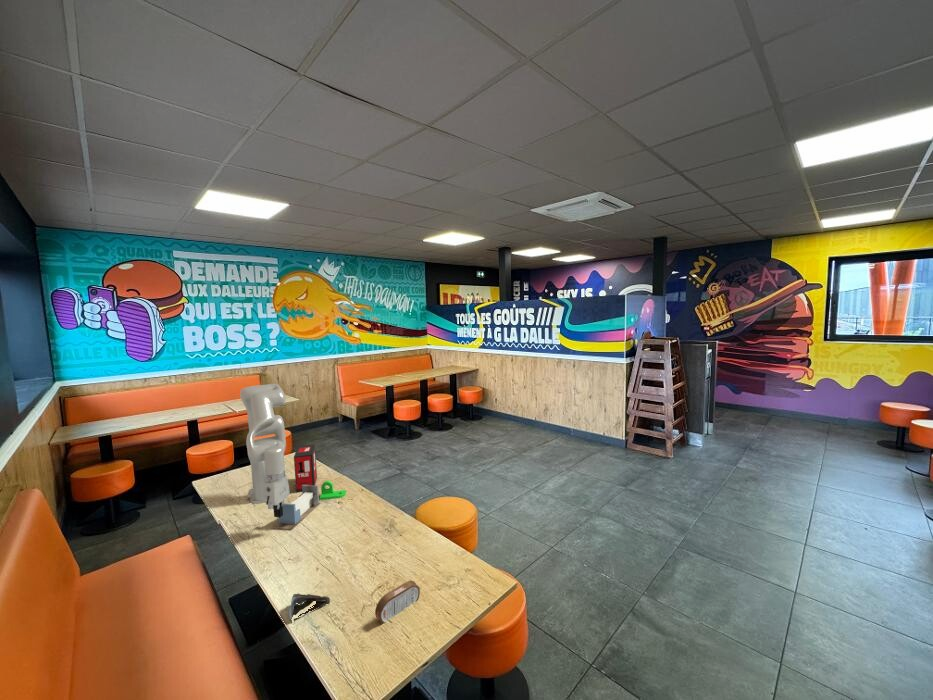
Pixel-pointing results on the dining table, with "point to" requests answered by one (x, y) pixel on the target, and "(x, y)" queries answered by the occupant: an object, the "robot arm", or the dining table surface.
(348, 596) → the dining table surface
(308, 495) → the slat
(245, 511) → the dining table surface
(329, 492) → the mechanical part
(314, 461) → the cleaning product box
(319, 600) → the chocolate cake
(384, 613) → the tin
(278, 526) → the endcap rack
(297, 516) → the sliding end cap
